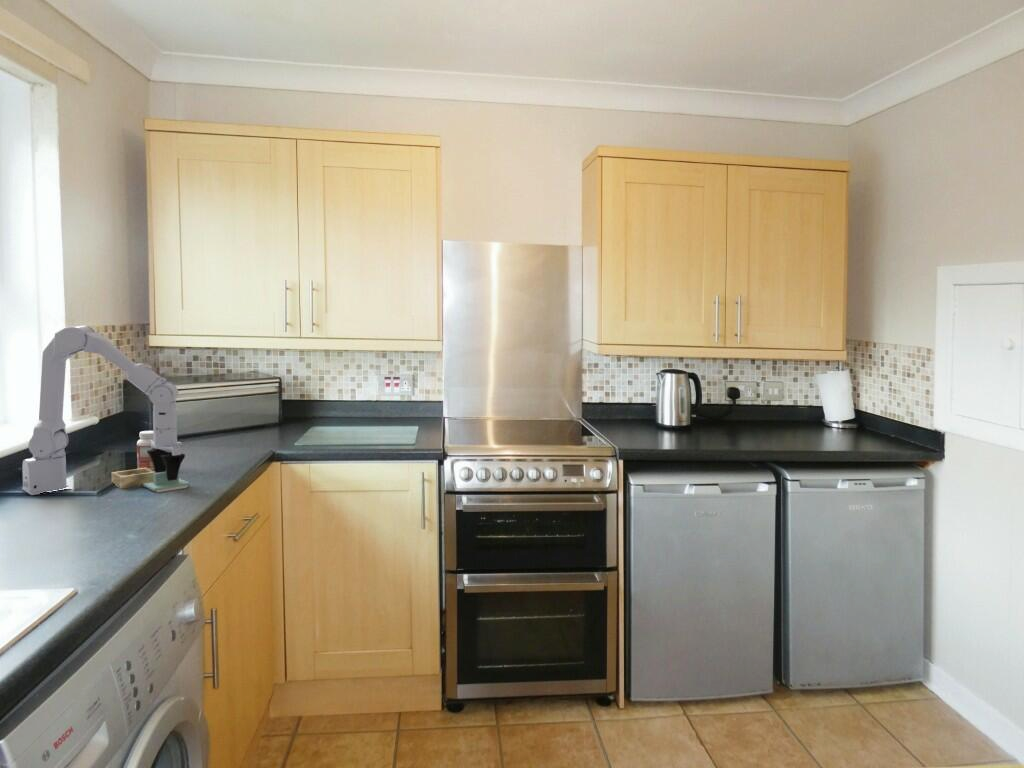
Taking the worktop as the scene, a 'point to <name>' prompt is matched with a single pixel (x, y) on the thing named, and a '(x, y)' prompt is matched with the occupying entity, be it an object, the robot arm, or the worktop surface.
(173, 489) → the mat
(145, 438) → the pill bottle
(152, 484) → the lid
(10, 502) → the worktop surface
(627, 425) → the worktop surface
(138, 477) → the box
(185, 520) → the worktop surface
